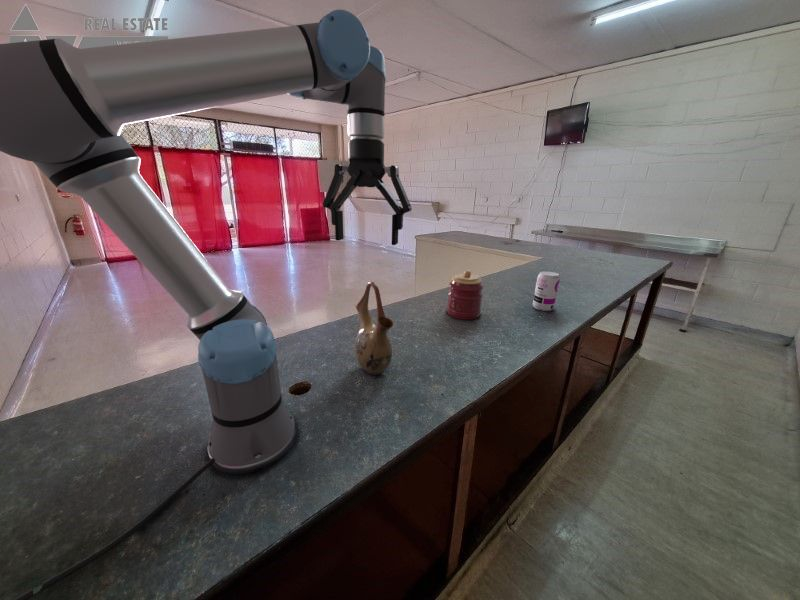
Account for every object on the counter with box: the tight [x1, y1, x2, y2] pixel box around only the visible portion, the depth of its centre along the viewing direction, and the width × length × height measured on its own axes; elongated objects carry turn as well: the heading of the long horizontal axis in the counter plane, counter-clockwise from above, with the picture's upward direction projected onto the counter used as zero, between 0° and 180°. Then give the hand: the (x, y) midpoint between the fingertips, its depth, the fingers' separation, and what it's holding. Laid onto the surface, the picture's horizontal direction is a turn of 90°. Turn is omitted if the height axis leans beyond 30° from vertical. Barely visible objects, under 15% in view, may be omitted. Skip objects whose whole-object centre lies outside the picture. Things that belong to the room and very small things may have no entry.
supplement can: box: [532, 270, 561, 312], centre depth 130 cm, size 8×8×15 cm
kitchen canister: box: [446, 269, 484, 321], centre depth 121 cm, size 13×13×18 cm
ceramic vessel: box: [354, 281, 394, 376], centre depth 81 cm, size 16×9×25 cm, turn 32°
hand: (366, 241), depth 73 cm, fingers open, 13 cm apart
